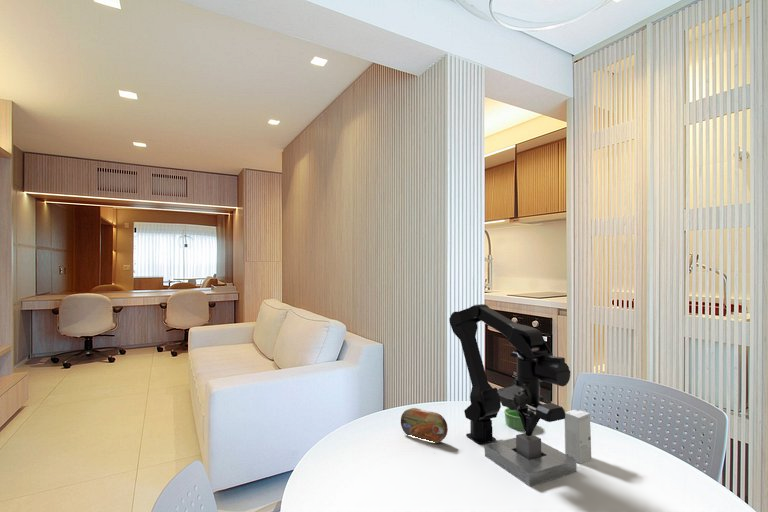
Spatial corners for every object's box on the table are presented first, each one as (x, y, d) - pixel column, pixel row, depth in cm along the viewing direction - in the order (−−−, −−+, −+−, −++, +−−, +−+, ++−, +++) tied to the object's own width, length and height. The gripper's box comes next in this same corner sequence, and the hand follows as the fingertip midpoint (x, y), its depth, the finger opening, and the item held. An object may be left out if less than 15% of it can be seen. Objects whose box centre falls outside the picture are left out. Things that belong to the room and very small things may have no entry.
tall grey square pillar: (516, 461, 100) (516, 435, 100) (528, 458, 102) (528, 432, 102) (528, 469, 96) (528, 441, 96) (541, 465, 98) (541, 438, 98)
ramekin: (498, 421, 126) (498, 408, 127) (521, 419, 129) (521, 406, 129) (515, 432, 118) (515, 418, 118) (539, 429, 121) (539, 415, 121)
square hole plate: (484, 455, 103) (484, 444, 103) (528, 445, 109) (528, 434, 109) (529, 486, 88) (529, 473, 88) (576, 472, 95) (576, 460, 95)
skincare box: (580, 464, 99) (579, 418, 99) (563, 457, 102) (563, 412, 103) (592, 458, 102) (591, 413, 102) (576, 451, 106) (575, 408, 106)
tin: (399, 434, 116) (400, 406, 116) (405, 430, 118) (405, 403, 119) (444, 447, 107) (444, 417, 108) (448, 443, 110) (449, 414, 110)
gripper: (481, 370, 105) (481, 426, 104) (533, 390, 88) (533, 457, 87) (511, 366, 109) (511, 420, 109) (566, 384, 92) (566, 448, 92)
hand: (528, 435), depth 99 cm, fingers closed
